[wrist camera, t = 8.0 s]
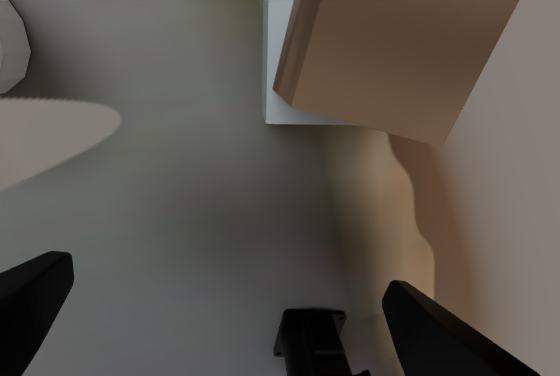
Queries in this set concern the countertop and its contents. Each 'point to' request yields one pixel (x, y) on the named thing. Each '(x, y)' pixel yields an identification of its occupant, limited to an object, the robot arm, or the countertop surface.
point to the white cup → (12, 47)
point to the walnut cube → (388, 61)
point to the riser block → (273, 105)
